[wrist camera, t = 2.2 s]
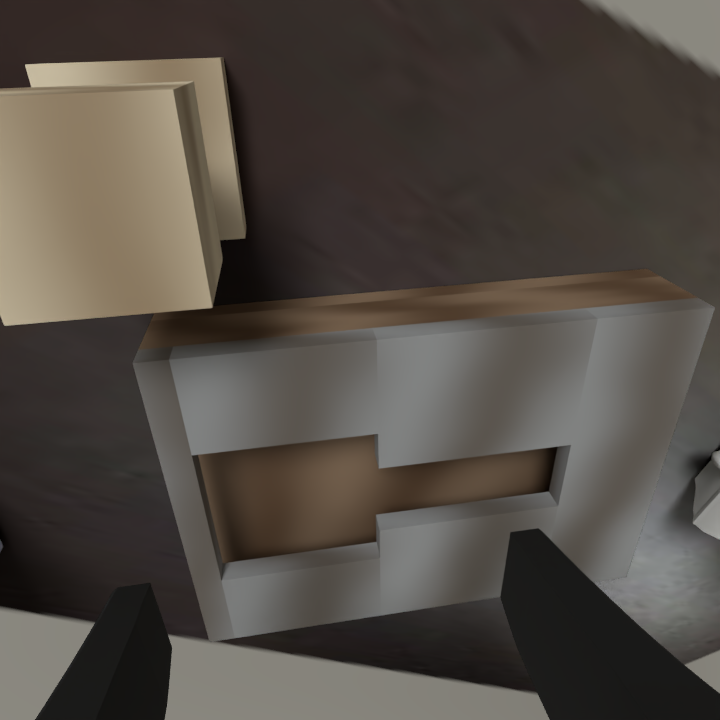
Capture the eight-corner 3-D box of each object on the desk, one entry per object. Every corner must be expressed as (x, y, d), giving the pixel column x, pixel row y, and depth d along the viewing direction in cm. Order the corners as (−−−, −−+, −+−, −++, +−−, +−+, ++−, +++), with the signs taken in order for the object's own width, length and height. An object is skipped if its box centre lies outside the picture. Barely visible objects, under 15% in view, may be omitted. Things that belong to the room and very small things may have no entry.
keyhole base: (216, 568, 25) (209, 641, 22) (155, 310, 18) (132, 363, 15) (585, 516, 27) (626, 577, 24) (646, 268, 20) (715, 307, 17)
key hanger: (91, 238, 17) (-10, 345, 11) (42, 63, 14) (-126, 72, 8) (246, 227, 17) (235, 323, 11) (223, 57, 15) (192, 61, 9)
